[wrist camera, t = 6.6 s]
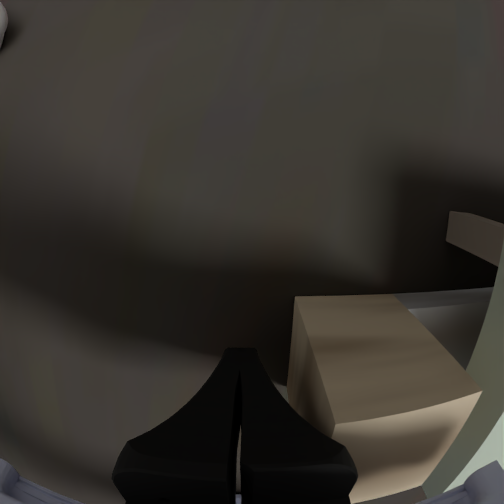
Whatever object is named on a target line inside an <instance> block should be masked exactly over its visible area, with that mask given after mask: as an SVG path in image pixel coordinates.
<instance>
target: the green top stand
mask: <svg viewBox="0 0 504 504" xmlns="http://www.w3.org/2000/svg"><path fill="white" fill-rule="evenodd" d="M446 241H447V242H449V243H451V244H453V245H455V246H458V247H460V248H462V249H464V250H466V251H468V252H470V253H472V254H474V255H476V256H478V257H480V258H482V259H484V260H486V261H488V262H490V263H492V264H494V265H496V266H498V271H497V276H496V280H495V284H494V288H493V292H492V296H491V300H490V303H489V307H488V310H487V313H486V317H485V320H484V323H483V326H482V329H481V332H480V335H479V338H478V341H477V343H476V346H475V349H474V351H473V354H472V356H471V359H470V361H469V364H468V366H467V369H466V372H467V373H468V374H469V375H470V376H471V378H472V379H473V380H474V381H475V382H476V383H477V384H478V386H479V387H480V388H481V389H482V390H483V391H482V393H481V395H480V397H479V399H478V401H477V403H476V404H475V406H474V408H473V410H472V412H471V413H470V415H469V417H468V419H467V420H466V422H465V424H464V425H463V427H462V429H461V430H460V432H459V434H458V435H457V437H456V438H455V440H454V441H453V443H452V444H451V446H450V447H449V449H448V450H447V452H446V453H445V455H444V456H443V458H442V459H441V460H440V462H439V463H438V465H437V466H436V467H435V469H434V470H433V471H432V473H431V474H430V475H429V476H428V478H427V479H426V480H425V481H424V483H423V484H422V488H423V490H424V492H425V494H426V497H427V499H429V498H431V497H434V496H436V495H439V494H441V493H444V492H446V491H449V490H451V489H453V488H455V487H458V486H460V485H462V484H464V482H465V481H466V479H467V478H468V477H469V476H470V475H471V474H472V473H474V472H475V471H476V470H478V469H480V468H482V467H484V466H486V465H488V464H489V463H491V462H493V461H495V460H497V461H498V462H499V464H500V465H501V467H502V469H503V470H504V224H502V223H499V222H496V221H493V220H490V219H487V218H484V217H481V216H478V215H474V214H471V213H464V212H455V211H449V220H448V228H447V236H446Z"/></svg>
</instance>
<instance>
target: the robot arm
mask: <svg viewBox="0 0 504 504" xmlns="http://www.w3.org/2000/svg"><path fill="white" fill-rule="evenodd" d="M240 425H241V455H240V473H241V494H236V463H237V447H238V440H239V432H240ZM357 479H358V473H357V468H356V466H355V463H354V461H353V459H352V457H351V455H350V453H349V452H348V450H347V448H346V447H345V446H344V445H342V444H340V443H339V442H337V441H335V440H333V439H331V438H330V437H328V436H326V435H324V434H323V433H322V432H320V431H319V430H317V429H316V428H315V427H313V426H312V425H311V424H310V423H308V422H307V421H306V420H305V419H304V418H302V417H301V416H300V415H299V414H298V413H297V412H296V411H295V410H294V409H293V408H292V407H291V406H290V405H289V404H288V402H287V401H286V400H285V399H284V398H283V397H282V395H281V394H280V393H279V391H278V390H277V389H276V387H275V386H274V384H273V383H272V381H271V380H270V378H269V376H268V375H267V373H266V371H265V369H264V367H263V365H262V363H261V361H260V359H259V356H258V353H257V350H256V349H255V348H227V349H226V350H225V352H224V354H223V356H222V358H221V360H220V362H219V364H218V365H217V367H216V368H215V370H214V371H213V373H212V374H211V376H210V377H209V379H208V380H207V381H206V383H205V384H204V385H203V386H202V388H201V389H200V390H199V391H198V392H197V393H196V395H195V396H194V397H193V398H192V399H191V400H190V401H189V402H188V403H187V404H186V405H184V406H183V407H182V408H181V409H180V410H179V411H177V412H176V413H175V414H174V415H173V416H171V417H170V418H169V419H167V420H166V421H164V422H163V423H161V424H160V425H158V426H156V427H155V428H153V429H152V430H150V431H148V432H146V433H144V434H142V435H140V436H138V437H136V438H134V439H131V440H129V441H127V443H126V445H125V446H124V448H123V450H122V451H121V453H120V455H119V457H118V459H117V462H116V465H115V468H114V470H113V473H112V480H113V483H114V484H115V486H116V487H117V489H118V490H119V492H120V493H121V495H122V496H123V497H124V499H125V500H126V503H125V504H351V502H350V498H349V494H350V492H351V490H352V489H353V487H354V485H355V483H356V482H357ZM0 504H85V503H82V502H79V501H77V500H74V499H71V498H69V497H66V496H63V495H61V494H58V493H56V492H54V491H51V490H49V489H47V488H44V487H42V486H40V485H38V484H36V483H34V482H32V481H30V480H28V479H26V478H24V477H22V476H20V475H19V473H18V472H17V471H16V469H15V468H14V467H13V466H12V465H11V464H9V463H8V462H7V461H5V460H3V459H2V458H0ZM415 504H504V470H503V469H502V467H501V465H500V464H499V462H498V461H497V460H495V461H493V462H491V463H489V464H488V465H486V466H484V467H482V468H480V469H478V470H476V471H475V472H474V473H472V474H471V475H470V476H469V477H468V478H467V479H466V481H465V482H464V484H462V485H460V486H458V487H455V488H453V489H451V490H449V491H446V492H444V493H441V494H439V495H436V496H434V497H431V498H429V499H426V500H423V501H420V502H418V503H415Z"/></svg>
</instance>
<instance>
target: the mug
mask: <svg viewBox="0 0 504 504" xmlns="http://www.w3.org/2000/svg"><path fill="white" fill-rule="evenodd" d="M7 25H8V15H7V12H6V9H5V7H4V6H3V5H2V3H1V2H0V49H1V45H2V42H3V37H4V33H5V31H6V28H7Z"/></svg>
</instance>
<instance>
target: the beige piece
mask: <svg viewBox="0 0 504 504" xmlns="http://www.w3.org/2000/svg"><path fill="white" fill-rule="evenodd" d="M493 288H494V287H488V288H477V289H464V290H450V291H435V292H418V293H399V294H376V295H344V296H295V301H294V314H293V326H292V338H291V349H290V360H289V370H288V380H287V392H288V399H289V405H290V406H291V407H292V408H293V409H294V410H295V411H296V412H297V413H298V414H299V415H300V416H301V417H302V418H304V419H305V420H306V421H307V422H308V423H310V424H311V425H312V426H313V427H315V428H316V429H317V430H319V431H320V432H322V433H323V434H324V435H326V436H328V437H330V438H331V439H333V440H335V441H337V442H339V443H340V444H342V445H344V446H345V447H346V448H347V450H348V452H349V453H350V455H351V457H352V459H353V461H354V463H355V466H356V468H357V473H358V479H357V482H356V483H355V485H354V487H353V489H352V490H351V492H350V494H349V498H350V502H351V504H352V503H357V502H362V501H367V500H371V499H375V498H379V497H383V496H387V495H391V494H394V493H398V492H401V491H405V490H408V489H411V488H414V487H417V486H420V485H422V484H423V483H424V481H425V480H426V479H427V478H428V476H429V475H430V474H431V473H432V471H433V470H434V469H435V467H436V466H437V465H438V463H439V462H440V460H441V459H442V458H443V456H444V455H445V453H446V452H447V450H448V449H449V447H450V446H451V444H452V443H453V441H454V440H455V438H456V437H457V435H458V434H459V432H460V430H461V429H462V427H463V425H464V424H465V422H466V420H467V419H468V417H469V415H470V413H471V412H472V410H473V408H474V406H475V404H476V403H477V401H478V399H479V397H480V395H481V393H482V391H483V390H482V389H481V388H480V387H479V386H478V384H477V383H476V382H475V381H474V380H473V379H472V378H471V376H470V375H469V374H468V373H467V372H466V369H467V366H468V364H469V361H470V359H471V356H472V354H473V351H474V349H475V346H476V343H477V341H478V338H479V335H480V332H481V329H482V326H483V323H484V320H485V317H486V313H487V310H488V307H489V303H490V300H491V296H492V292H493Z"/></svg>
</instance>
